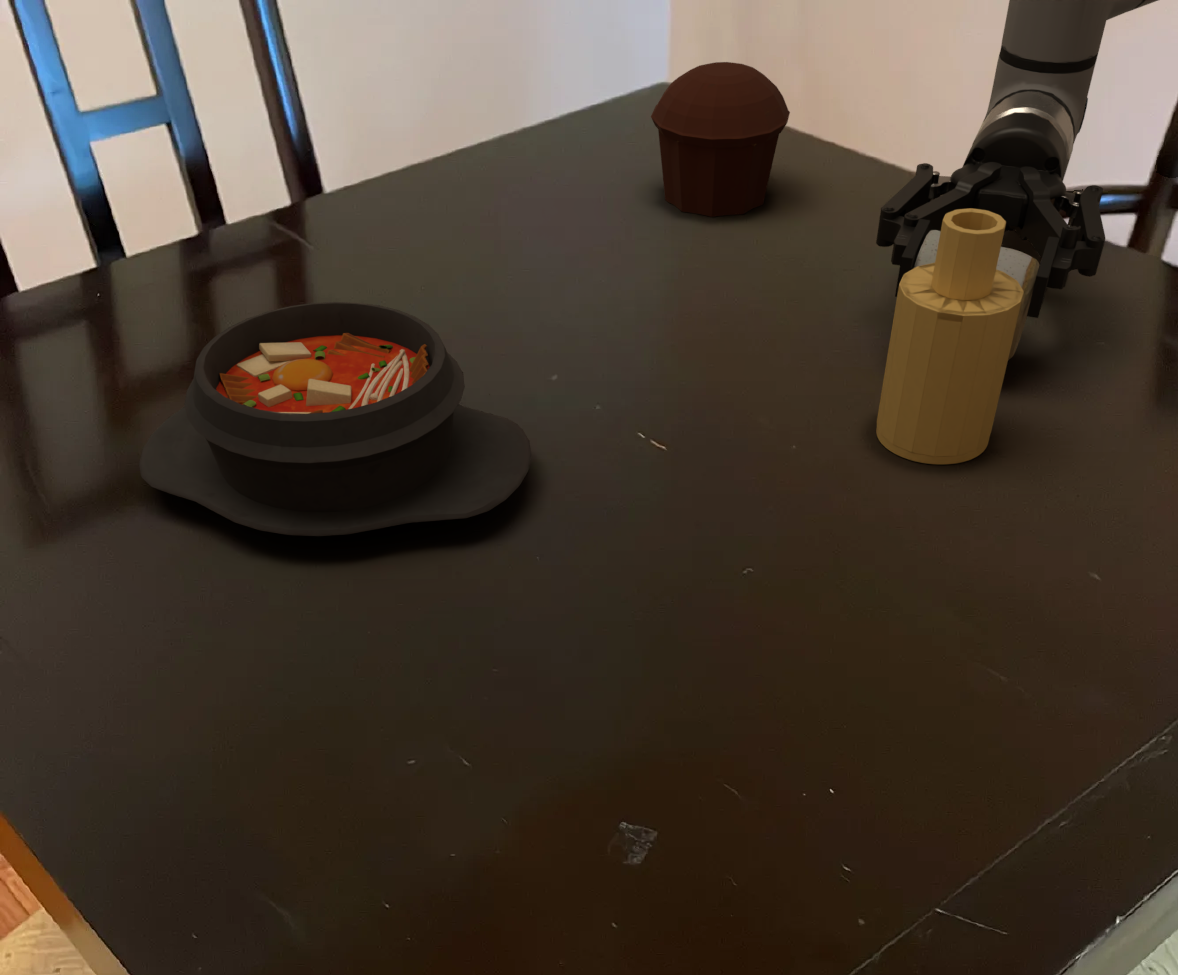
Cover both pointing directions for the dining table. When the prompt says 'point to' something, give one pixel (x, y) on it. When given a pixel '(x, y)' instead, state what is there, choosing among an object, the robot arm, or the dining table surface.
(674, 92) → the muffin
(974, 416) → the bottle
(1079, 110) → the robot arm
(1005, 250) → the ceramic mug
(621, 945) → the dining table surface
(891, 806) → the dining table surface
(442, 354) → the casserole
